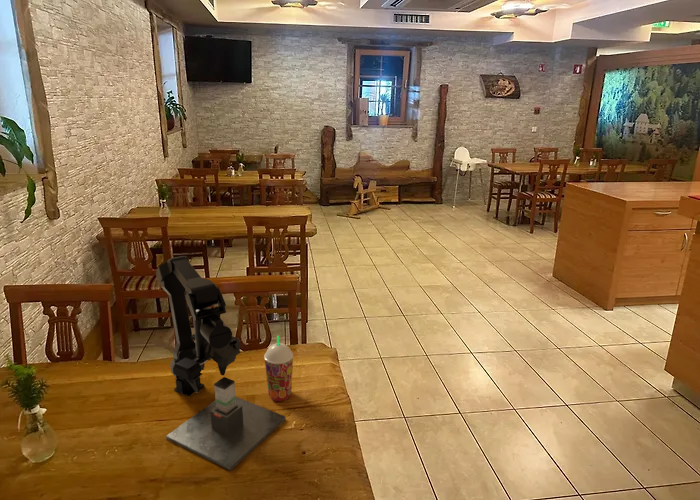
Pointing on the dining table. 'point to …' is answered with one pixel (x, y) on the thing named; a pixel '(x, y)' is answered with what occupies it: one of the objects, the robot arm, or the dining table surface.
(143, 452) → the dining table surface
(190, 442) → the stand base
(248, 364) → the dining table surface
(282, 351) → the smoothie
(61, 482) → the dining table surface
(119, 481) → the dining table surface
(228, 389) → the column
